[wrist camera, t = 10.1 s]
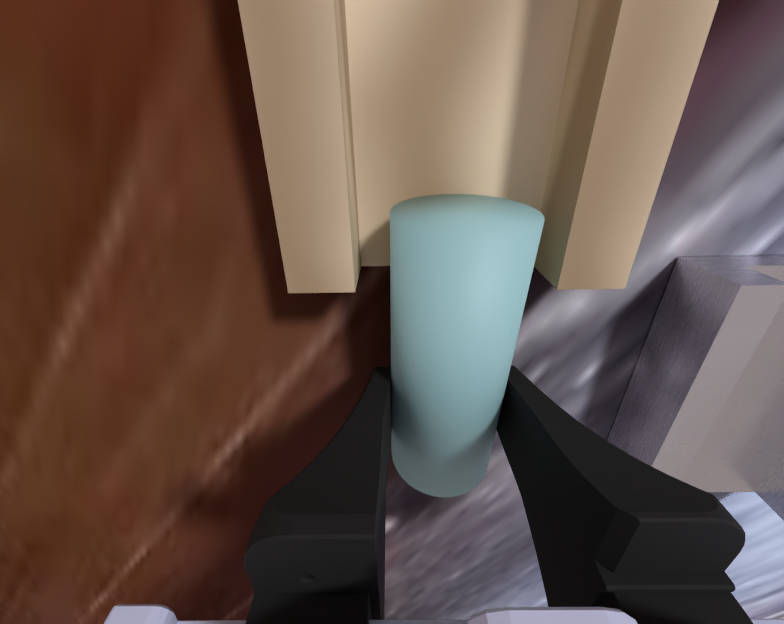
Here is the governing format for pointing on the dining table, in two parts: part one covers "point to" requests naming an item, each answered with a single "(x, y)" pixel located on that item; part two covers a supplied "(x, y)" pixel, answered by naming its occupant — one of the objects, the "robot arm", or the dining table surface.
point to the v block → (713, 379)
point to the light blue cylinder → (454, 330)
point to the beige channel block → (468, 121)
